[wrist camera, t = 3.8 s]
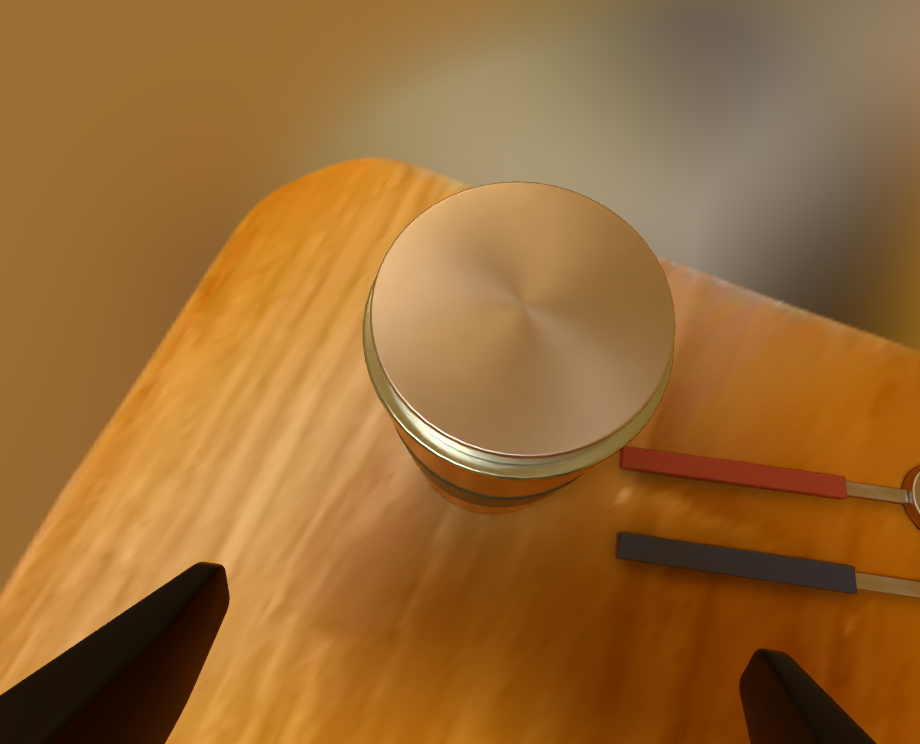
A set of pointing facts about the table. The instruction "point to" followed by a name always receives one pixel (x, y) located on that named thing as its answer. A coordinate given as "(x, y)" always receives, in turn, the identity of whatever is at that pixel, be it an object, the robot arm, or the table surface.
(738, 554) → the fork
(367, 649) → the table surface
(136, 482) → the table surface
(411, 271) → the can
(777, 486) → the spoon
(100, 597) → the table surface
